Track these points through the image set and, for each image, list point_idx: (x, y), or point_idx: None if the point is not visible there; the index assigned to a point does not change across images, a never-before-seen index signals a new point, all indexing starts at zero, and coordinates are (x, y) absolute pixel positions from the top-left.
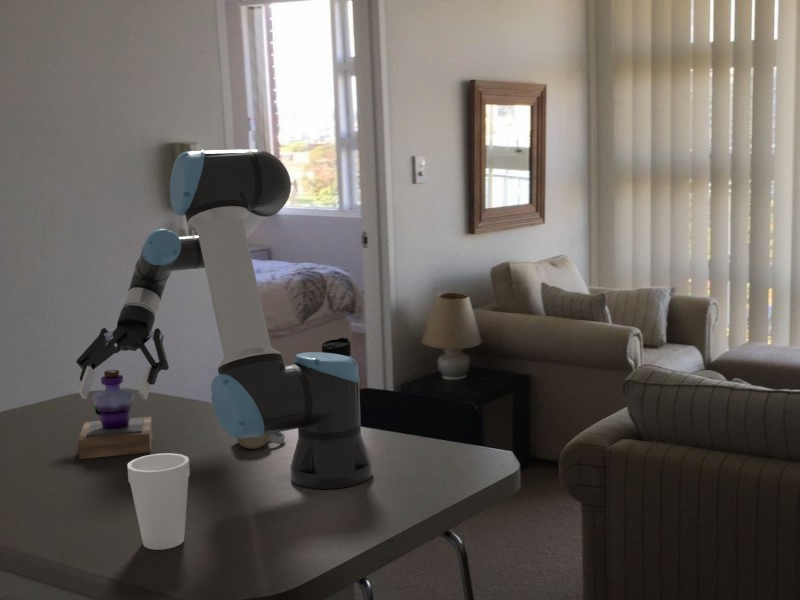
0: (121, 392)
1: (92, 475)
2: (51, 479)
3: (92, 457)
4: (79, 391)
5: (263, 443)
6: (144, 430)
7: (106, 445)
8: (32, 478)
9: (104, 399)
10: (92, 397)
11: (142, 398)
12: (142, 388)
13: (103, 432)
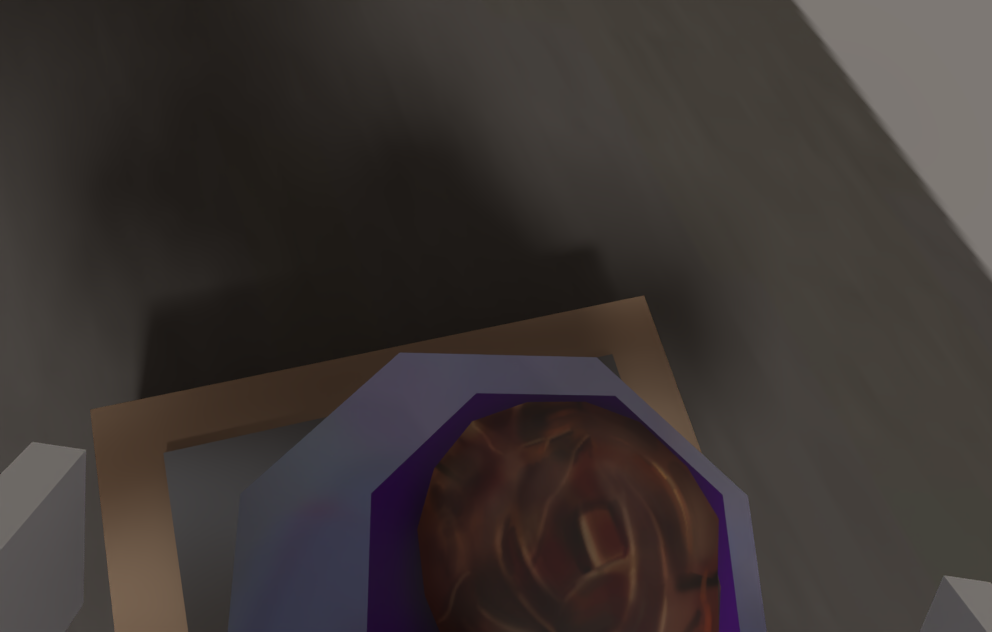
0: (365, 530)
1: (403, 61)
2: (603, 31)
3: None
4: (979, 588)
5: None
6: (151, 518)
7: None
8: (710, 56)
9: (530, 358)
10: (733, 488)
11: (82, 574)
12: (8, 490)
13: None
